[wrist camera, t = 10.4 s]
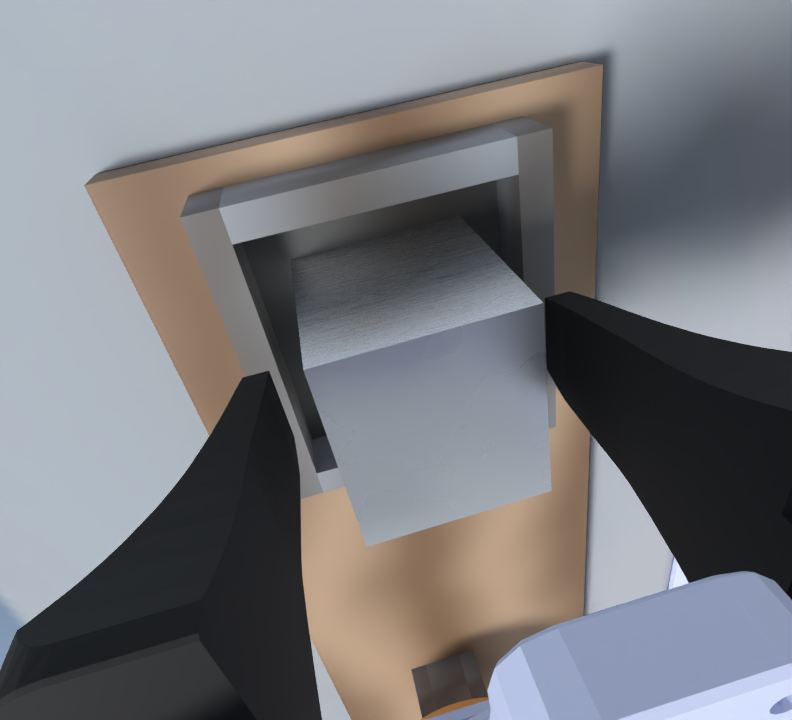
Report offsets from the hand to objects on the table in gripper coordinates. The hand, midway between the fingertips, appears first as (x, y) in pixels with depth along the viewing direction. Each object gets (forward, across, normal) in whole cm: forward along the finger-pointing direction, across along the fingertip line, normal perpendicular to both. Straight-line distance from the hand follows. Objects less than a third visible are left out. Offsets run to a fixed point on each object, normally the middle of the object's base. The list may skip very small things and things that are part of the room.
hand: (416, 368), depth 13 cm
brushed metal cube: (+3, 0, 0) cm, 3 cm away
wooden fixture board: (+4, 0, +10) cm, 11 cm away
